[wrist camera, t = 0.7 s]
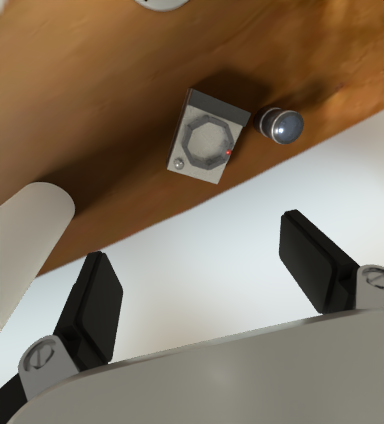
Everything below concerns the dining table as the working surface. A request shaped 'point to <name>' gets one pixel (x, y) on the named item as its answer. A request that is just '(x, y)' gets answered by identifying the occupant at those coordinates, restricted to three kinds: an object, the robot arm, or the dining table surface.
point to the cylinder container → (29, 238)
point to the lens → (279, 124)
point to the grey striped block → (204, 136)
